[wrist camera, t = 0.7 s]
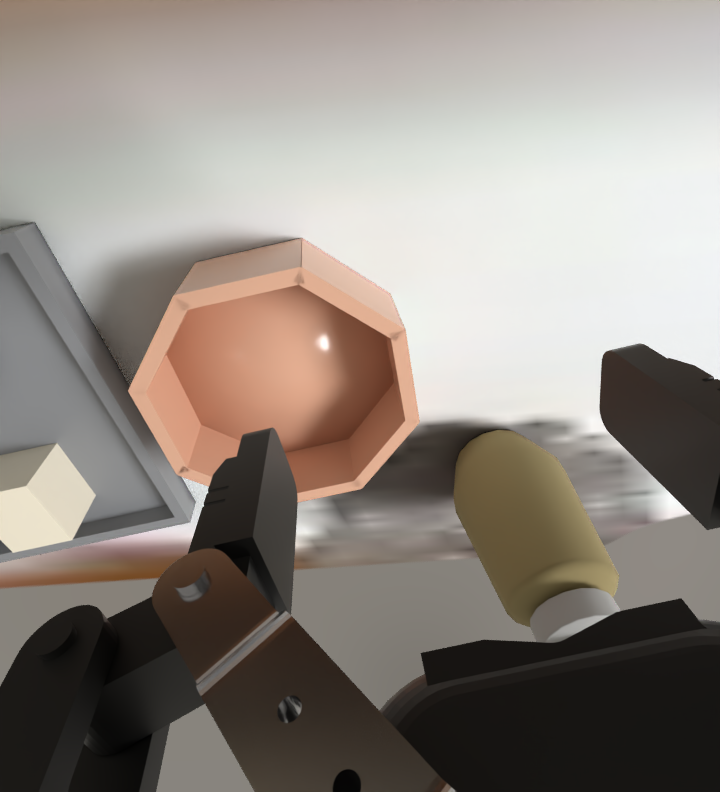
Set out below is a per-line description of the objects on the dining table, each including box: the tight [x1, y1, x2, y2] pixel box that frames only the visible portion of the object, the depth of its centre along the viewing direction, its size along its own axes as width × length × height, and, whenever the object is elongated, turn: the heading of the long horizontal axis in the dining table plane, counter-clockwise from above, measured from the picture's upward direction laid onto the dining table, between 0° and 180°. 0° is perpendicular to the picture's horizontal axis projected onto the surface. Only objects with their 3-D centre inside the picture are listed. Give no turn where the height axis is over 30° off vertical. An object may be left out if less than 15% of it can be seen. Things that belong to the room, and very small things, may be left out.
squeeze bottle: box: [454, 430, 620, 643], centre depth 28 cm, size 8×8×18 cm
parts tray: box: [0, 222, 196, 563], centre depth 29 cm, size 21×16×2 cm
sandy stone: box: [0, 443, 96, 553], centre depth 30 cm, size 5×4×4 cm
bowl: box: [128, 238, 420, 502], centre depth 27 cm, size 15×15×5 cm
